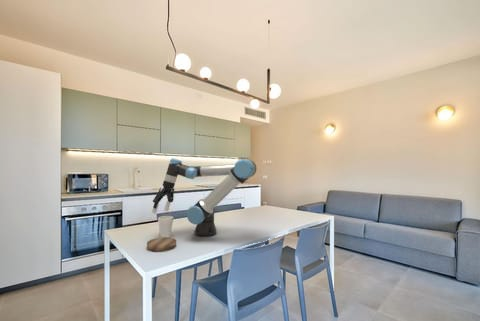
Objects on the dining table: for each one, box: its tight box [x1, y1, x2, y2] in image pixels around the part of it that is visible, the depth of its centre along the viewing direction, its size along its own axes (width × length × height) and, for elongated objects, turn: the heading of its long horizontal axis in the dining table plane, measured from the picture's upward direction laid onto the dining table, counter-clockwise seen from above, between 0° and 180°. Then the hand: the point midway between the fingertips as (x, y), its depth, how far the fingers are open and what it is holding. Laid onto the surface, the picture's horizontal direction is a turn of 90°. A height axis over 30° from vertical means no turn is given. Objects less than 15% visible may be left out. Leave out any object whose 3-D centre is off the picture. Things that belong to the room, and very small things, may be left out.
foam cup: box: [157, 215, 174, 238], centre depth 148 cm, size 10×9×13 cm
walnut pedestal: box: [146, 237, 177, 253], centre depth 129 cm, size 16×16×3 cm
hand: (160, 211), depth 149 cm, fingers open, 13 cm apart
